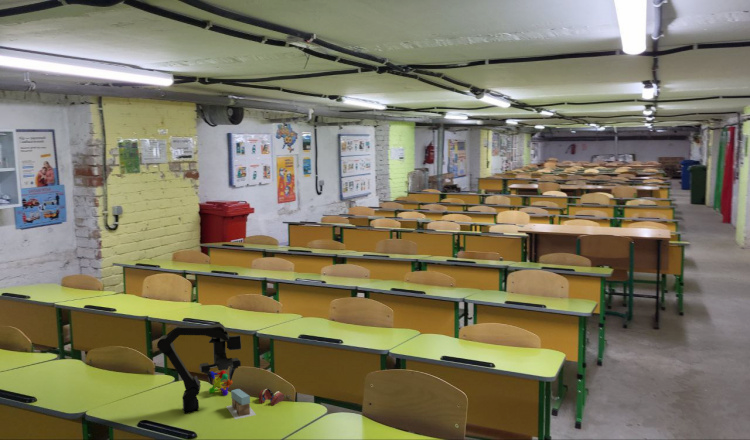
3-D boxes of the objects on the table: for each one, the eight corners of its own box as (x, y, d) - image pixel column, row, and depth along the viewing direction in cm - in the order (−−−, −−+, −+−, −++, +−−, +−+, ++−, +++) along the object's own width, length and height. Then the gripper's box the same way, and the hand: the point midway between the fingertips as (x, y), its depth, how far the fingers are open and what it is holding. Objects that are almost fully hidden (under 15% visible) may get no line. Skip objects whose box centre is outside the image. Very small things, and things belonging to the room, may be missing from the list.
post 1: (234, 410, 281) (234, 400, 281) (232, 406, 286) (231, 396, 285) (245, 408, 283) (244, 398, 283) (242, 404, 288) (242, 394, 287)
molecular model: (207, 393, 304) (206, 371, 303) (216, 389, 310) (216, 367, 309) (224, 397, 299) (224, 375, 298) (234, 392, 305) (233, 371, 304)
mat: (235, 419, 271) (235, 419, 271) (226, 407, 286) (226, 406, 286) (256, 415, 276) (256, 414, 276) (246, 403, 291) (246, 402, 291)
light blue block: (249, 403, 277) (249, 395, 277) (241, 405, 275) (241, 398, 274) (239, 395, 286) (239, 388, 286) (231, 397, 284) (231, 390, 284)
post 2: (239, 416, 274) (238, 406, 274) (236, 412, 278) (236, 402, 278) (249, 414, 276) (249, 403, 276) (246, 410, 281) (246, 400, 280)
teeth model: (276, 394, 285) (256, 390, 291) (276, 407, 286) (256, 403, 291) (286, 389, 293) (266, 385, 298) (286, 401, 293) (266, 398, 298)
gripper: (203, 358, 272) (204, 391, 273) (243, 352, 281) (244, 384, 282) (198, 352, 282) (199, 383, 283) (237, 346, 290) (238, 377, 292)
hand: (220, 382), depth 285 cm, fingers open, 9 cm apart
